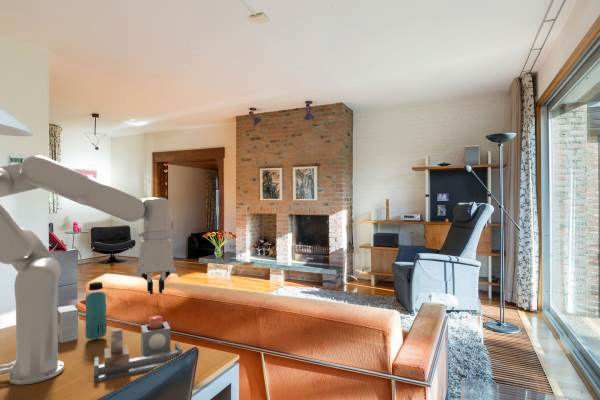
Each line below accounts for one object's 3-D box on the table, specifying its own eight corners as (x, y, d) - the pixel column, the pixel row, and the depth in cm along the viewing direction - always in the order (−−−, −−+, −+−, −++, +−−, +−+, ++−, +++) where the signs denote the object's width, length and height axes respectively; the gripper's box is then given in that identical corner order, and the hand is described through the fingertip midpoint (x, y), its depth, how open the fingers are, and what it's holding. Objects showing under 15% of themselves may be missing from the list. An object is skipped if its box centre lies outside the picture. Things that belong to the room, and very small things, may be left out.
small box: (55, 336, 127) (55, 307, 127) (73, 332, 131) (73, 304, 131) (59, 343, 122) (59, 312, 122) (78, 339, 125) (78, 309, 125)
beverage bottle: (97, 344, 121) (97, 285, 121) (80, 342, 122) (80, 284, 122) (110, 337, 127) (111, 281, 127) (94, 335, 129) (95, 280, 128)
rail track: (94, 382, 96) (94, 367, 96) (94, 370, 103) (94, 356, 103) (182, 363, 107) (182, 350, 107) (177, 353, 114) (177, 341, 114)
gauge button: (149, 329, 113) (149, 320, 113) (148, 326, 116) (148, 316, 116) (163, 327, 115) (163, 318, 115) (161, 324, 118) (161, 314, 118)
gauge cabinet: (143, 359, 110) (143, 333, 110) (140, 350, 117) (141, 325, 117) (170, 353, 114) (170, 328, 114) (166, 345, 120) (166, 321, 120)
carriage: (104, 369, 97) (104, 336, 97) (104, 359, 104) (104, 328, 104) (129, 364, 100) (129, 332, 100) (127, 354, 106) (127, 324, 106)
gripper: (129, 238, 108) (129, 299, 108) (184, 235, 116) (183, 292, 116) (127, 236, 115) (127, 293, 115) (179, 233, 123) (179, 287, 123)
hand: (155, 292), depth 115 cm, fingers closed
